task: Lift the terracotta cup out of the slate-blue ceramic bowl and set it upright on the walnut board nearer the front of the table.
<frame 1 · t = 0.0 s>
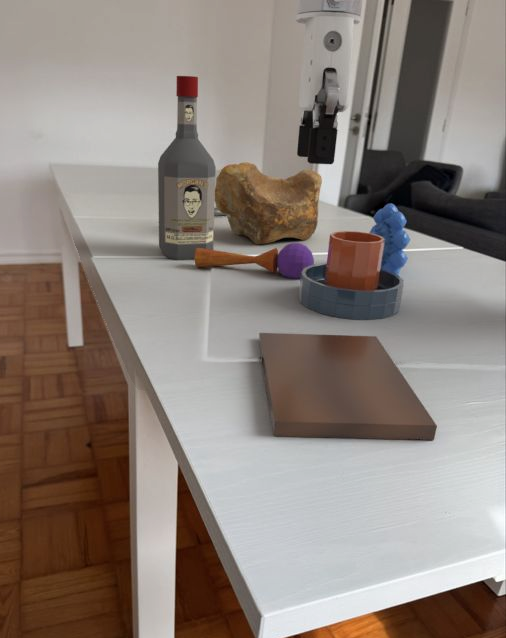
hand: (314, 160, 72), 20 cm above the table, tool pointing down, fingers open, 9 cm apart
salad plate: (210, 210, 148), on the table
board: (332, 384, 57), on the table
bowl: (347, 305, 80), on the table
liquor: (185, 254, 104), on the table
kendama: (252, 274, 93), on the table
cup: (348, 302, 79), point 1 cm above the table, touching bowl
grapes: (377, 276, 95), on the table
rough brown rock: (268, 240, 118), on the table
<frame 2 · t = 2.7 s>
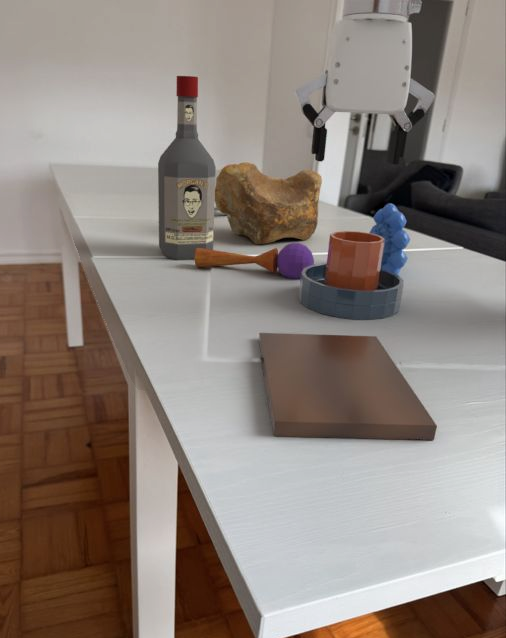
hand: (355, 162, 72), 20 cm above the table, tool pointing down, fingers open, 9 cm apart
nothing on the table moved.
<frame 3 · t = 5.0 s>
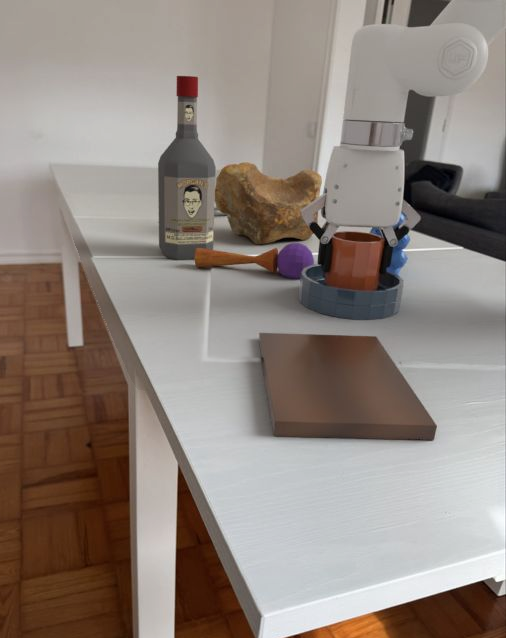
hand: (352, 270, 77), 5 cm above the table, tool pointing down, fingers closed on cup, 7 cm apart
cup: (348, 302, 79), point 1 cm above the table, touching bowl, gripper
everything else where it was.
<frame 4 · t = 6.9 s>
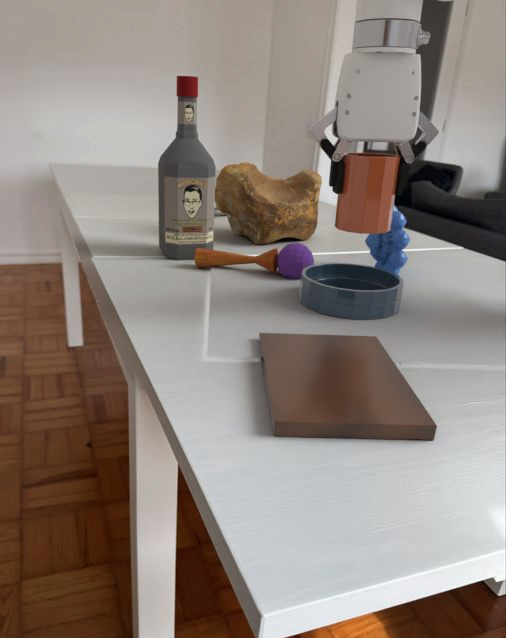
hand: (366, 192, 73), 16 cm above the table, tool pointing down, fingers closed on cup, 7 cm apart
cup: (362, 228, 75), point 11 cm above the table, touching gripper
everything else where it was.
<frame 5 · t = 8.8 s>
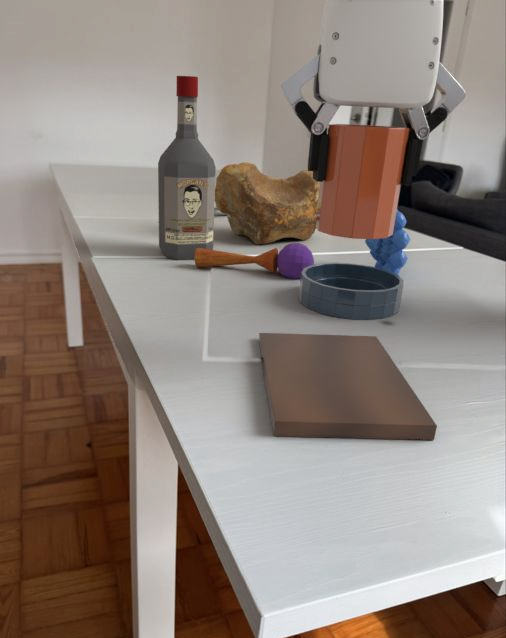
hand: (360, 180, 52), 20 cm above the table, tool pointing down, fingers closed on cup, 7 cm apart
cup: (353, 230, 54), point 15 cm above the table, touching gripper
everything else where it was.
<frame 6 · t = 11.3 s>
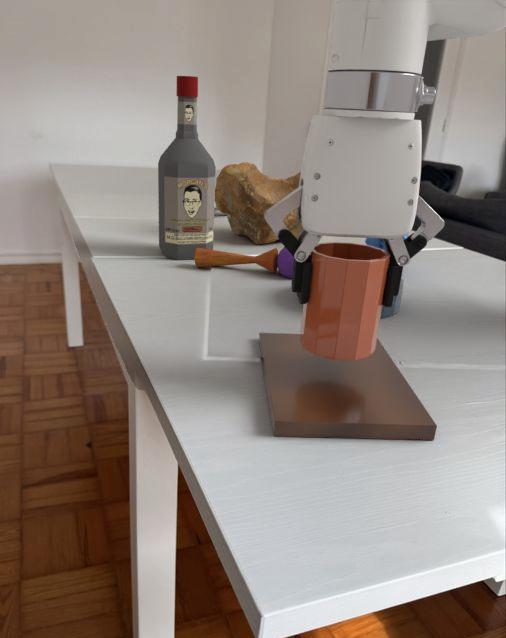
hand: (342, 299, 53), 9 cm above the table, tool pointing down, fingers closed on cup, 7 cm apart
cup: (336, 344, 55), point 4 cm above the table, touching gripper
everything else where it was.
when the fingers open (6 cm above the table, at t = 12.8 s): cup stays where it is, resting on board.
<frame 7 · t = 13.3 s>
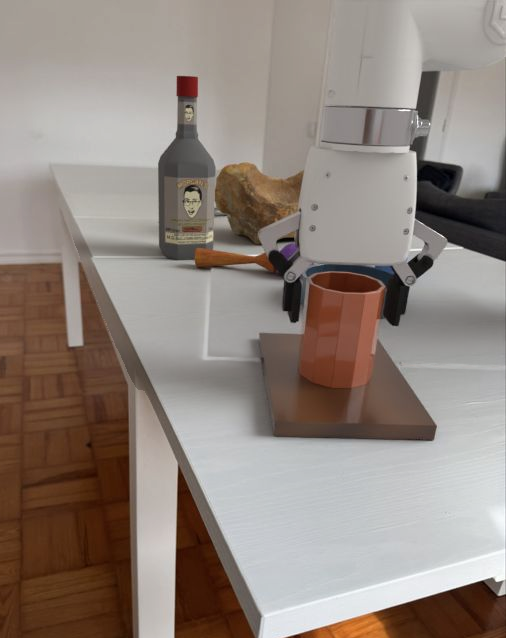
hand: (341, 319, 54), 7 cm above the table, tool pointing down, fingers open, 9 cm apart
cup: (333, 371, 56), point 1 cm above the table, touching board
everything else where it was.
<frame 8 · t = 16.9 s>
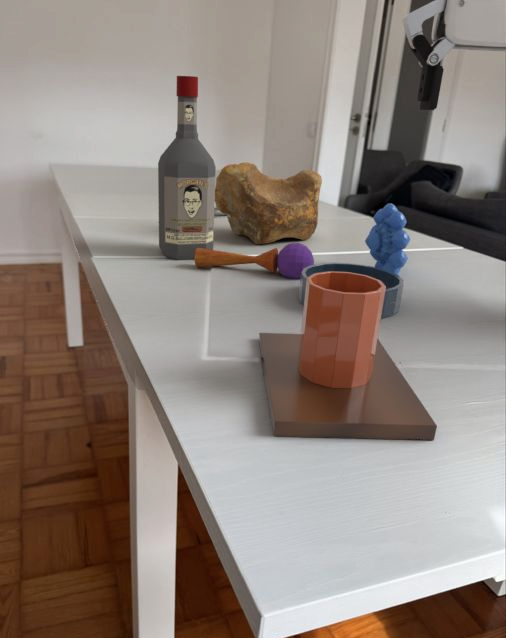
hand: (473, 111, 57), 26 cm above the table, tool pointing down, fingers open, 9 cm apart
nothing on the table moved.
at the end: cup inside the target area on the board (0.0 cm from its centre), point 1.5 cm above the board's base; cup tilted 0°; cup touching board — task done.
